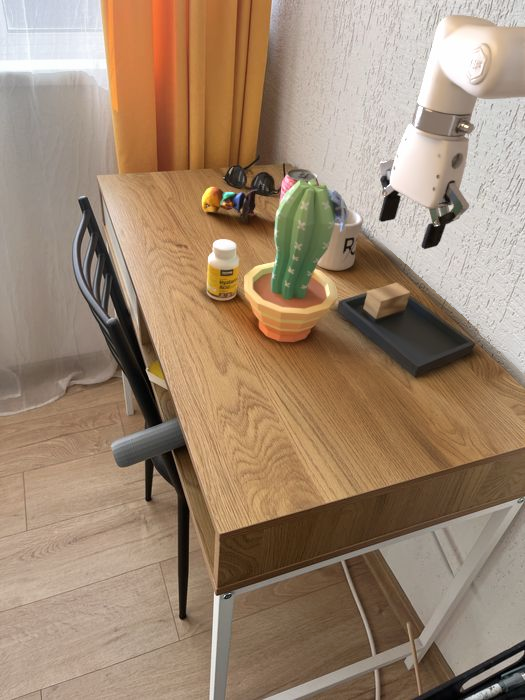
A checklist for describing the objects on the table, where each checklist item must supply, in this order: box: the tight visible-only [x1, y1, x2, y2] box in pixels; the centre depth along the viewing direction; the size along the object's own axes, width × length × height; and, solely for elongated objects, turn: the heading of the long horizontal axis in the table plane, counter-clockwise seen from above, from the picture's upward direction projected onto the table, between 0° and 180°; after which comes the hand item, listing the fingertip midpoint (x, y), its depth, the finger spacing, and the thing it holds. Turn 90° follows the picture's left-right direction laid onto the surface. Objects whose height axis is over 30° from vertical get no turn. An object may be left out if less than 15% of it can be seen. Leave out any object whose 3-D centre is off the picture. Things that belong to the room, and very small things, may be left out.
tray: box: [336, 292, 476, 378], centre depth 90 cm, size 20×14×2 cm
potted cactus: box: [243, 179, 348, 343], centre depth 81 cm, size 15×15×25 cm
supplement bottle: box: [206, 238, 240, 302], centre depth 92 cm, size 5×5×10 cm
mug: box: [316, 207, 364, 272], centre depth 106 cm, size 12×9×10 cm
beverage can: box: [278, 168, 320, 207], centre depth 114 cm, size 8×8×12 cm
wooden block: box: [362, 282, 411, 323], centre depth 92 cm, size 7×4×4 cm, turn 122°
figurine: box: [201, 186, 258, 225], centre depth 118 cm, size 11×8×6 cm, turn 66°
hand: (407, 232), depth 84 cm, fingers open, 9 cm apart
